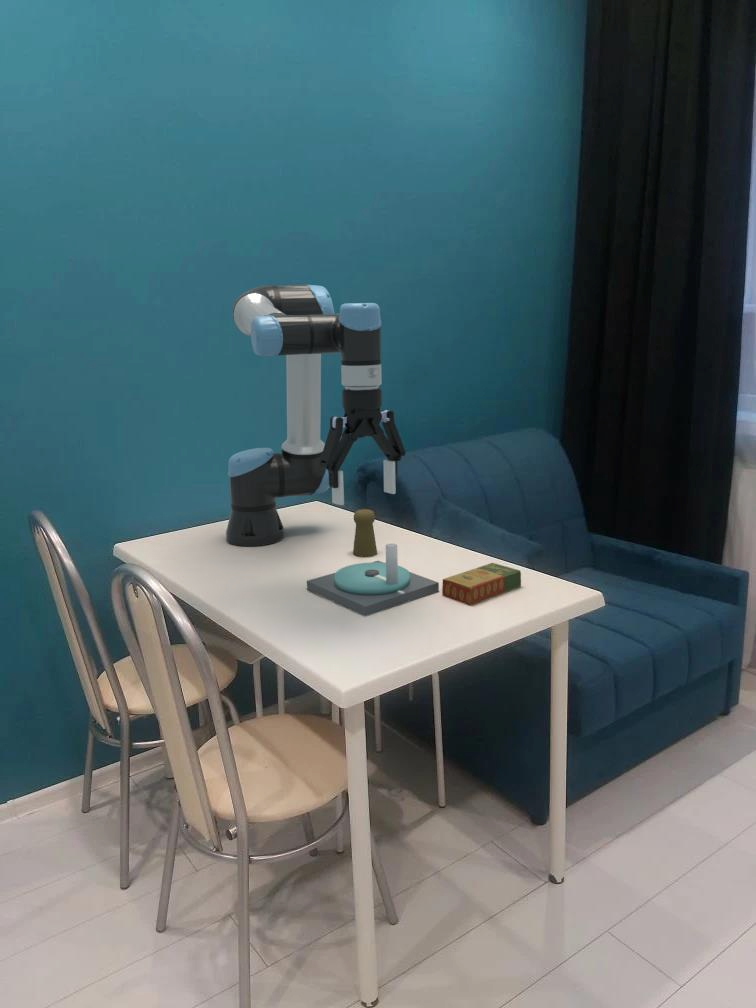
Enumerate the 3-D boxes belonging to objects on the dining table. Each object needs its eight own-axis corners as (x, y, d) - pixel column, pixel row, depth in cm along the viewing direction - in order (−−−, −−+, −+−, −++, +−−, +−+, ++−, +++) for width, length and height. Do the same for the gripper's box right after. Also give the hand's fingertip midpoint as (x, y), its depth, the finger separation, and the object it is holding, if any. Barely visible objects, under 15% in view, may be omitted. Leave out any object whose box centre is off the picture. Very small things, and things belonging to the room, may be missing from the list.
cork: (378, 549, 194) (377, 507, 192) (376, 557, 188) (375, 513, 186) (354, 549, 195) (353, 507, 192) (351, 557, 189) (350, 513, 186)
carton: (441, 597, 163) (441, 577, 162) (491, 579, 174) (492, 560, 172) (471, 607, 157) (471, 587, 156) (521, 588, 167) (522, 569, 166)
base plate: (307, 589, 168) (306, 579, 167) (378, 568, 180) (378, 559, 180) (365, 616, 153) (365, 605, 152) (438, 591, 165) (438, 581, 165)
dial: (319, 580, 167) (318, 538, 165) (376, 564, 177) (376, 523, 175) (366, 600, 155) (365, 555, 153) (425, 581, 165) (425, 538, 163)
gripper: (321, 394, 136) (325, 512, 142) (422, 383, 152) (423, 491, 157) (296, 391, 142) (301, 505, 147) (397, 381, 157) (398, 485, 162)
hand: (364, 498), depth 152 cm, fingers open, 12 cm apart
